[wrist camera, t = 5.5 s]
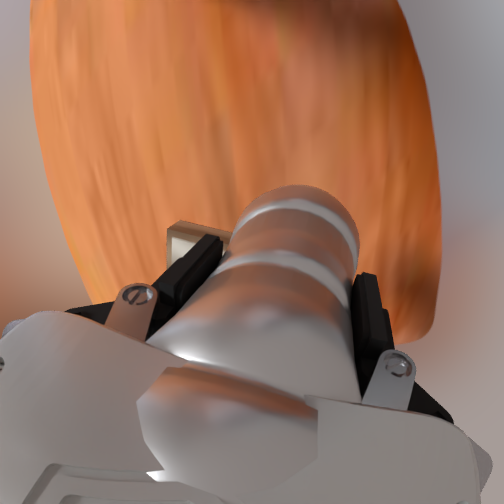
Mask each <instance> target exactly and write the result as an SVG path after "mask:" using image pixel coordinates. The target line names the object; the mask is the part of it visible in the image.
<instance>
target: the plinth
mask: <svg viewBox="0 0 504 504" xmlns="http://www.w3.org/2000/svg"><path fill="white" fill-rule="evenodd" d="M205 234H211V235H215V236H219V237H220V240H221V241H223V254H224V253H225V251H226V249H227V247H228V246H229V243H230V239H231V236H232V234H233V233H231V232H227V231H223V230H219V229H214V228H210V227H206V226H202V225H198V224H194V223H190V222H186V221H181V220H180V221H178V222H177V223H175V224H174V225H172V226H171V227H169V228H168V229H167V269H168V268H169V267H170V266H171V265H172V264H173V263H174V262H175V261H176V260H177V259H178V258H180V257H183V256H184V255H185V254H186V253H187V252H188V251H189V250H190V249H191V248H192V247H193V246H194V245H195V244H196V243H197V242H198V241H199V240H200V239H201V238H202V237H203V236H204V235H205ZM223 254H222V256H223Z"/></svg>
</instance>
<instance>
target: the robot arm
mask: <svg viewBox="0 0 504 504" xmlns="http://www.w3.org/2000/svg"><path fill="white" fill-rule="evenodd" d="M222 254H223V241H221V240H220V237H219V236H215V235H211V234H205V235H204V236H203V237H202V238H201V239H200V240H199V241H198V242H197V243H196V244H195V245H194V246H193V247H192V248H191V249H190V250H189V251H188V252H187V253H186V254H185V255H184V256H183V257H180V258H178V259H177V260H176V261H175V262H174V263H173V264H172V265H171V266H170V267H169V268H168V269H167V270H166V271H165V272H164V273H163V274H162V275H161V276H160V277H159V278H158V279H157V280H156V281H155V282H154V283H153V284H152V285H151V286H150V285H148V284H144V283H134V284H130V285H127V286H125V287H124V288H122V289H121V290H120V292H119V293H118V296H117V298H116V300H115V301H113V302H107V303H102V304H96V305H90V306H84V307H78V308H72V309H69V310H67V311H65V312H59V311H41V312H38V313H35V314H33V315H31V316H30V317H28V318H26V319H20V320H15V321H12V322H11V323H9V324H8V325H7V326H6V327H5V328H4V331H3V335H2V339H1V340H0V504H224V503H223V502H222V501H221V500H220V499H219V498H218V497H217V496H216V495H215V494H212V493H209V492H206V491H203V490H200V489H198V488H195V487H192V486H189V485H187V484H184V483H181V482H179V481H176V482H157V481H156V480H154V479H153V478H152V477H151V476H150V475H149V474H147V473H146V472H154V471H162V470H165V469H164V468H163V467H162V465H161V464H160V463H159V461H158V460H157V459H156V457H155V456H154V455H153V453H152V452H151V450H150V449H149V447H148V446H147V444H146V443H145V441H144V438H143V433H142V429H141V424H140V419H139V414H138V409H137V404H136V401H137V400H138V399H139V398H140V397H141V396H142V395H143V394H144V393H145V392H146V391H147V390H148V389H149V388H150V387H151V386H152V384H153V383H154V382H155V381H156V380H157V378H158V377H159V376H160V375H161V373H162V372H163V371H164V370H165V368H166V367H176V368H181V367H182V366H183V365H184V364H186V363H187V362H188V360H186V359H183V358H181V357H178V356H175V355H173V354H171V353H168V352H166V351H164V350H162V349H160V348H158V347H156V346H153V345H151V344H148V343H146V341H147V340H148V339H149V338H150V337H151V336H153V335H154V334H155V333H156V332H157V331H158V330H159V329H160V328H161V327H162V326H164V325H165V324H166V323H167V322H168V321H169V320H170V319H171V318H172V317H173V316H175V315H176V314H177V312H178V311H179V310H180V309H181V308H182V307H183V306H184V304H185V303H186V302H187V301H188V300H189V299H190V297H191V296H192V295H193V294H194V293H195V292H196V291H197V289H198V288H199V287H200V286H201V285H203V284H204V282H205V281H206V279H207V278H208V277H209V276H210V275H211V274H212V272H213V271H214V270H215V269H216V267H217V265H218V263H219V262H220V260H221V258H222ZM350 310H351V322H352V331H353V344H354V359H355V365H356V371H357V376H358V382H359V387H360V393H361V400H362V404H361V403H356V402H350V401H344V400H336V399H328V398H321V397H316V396H311V395H304V399H305V404H306V405H308V406H310V407H312V408H314V409H316V410H318V428H317V447H318V458H317V459H316V460H314V461H313V462H312V463H310V464H309V465H308V466H306V467H305V468H303V469H302V470H301V471H299V472H298V473H296V474H295V475H293V476H292V477H291V478H289V479H288V480H286V481H285V482H283V483H281V484H280V485H278V486H277V487H275V488H272V489H268V490H264V491H259V492H255V493H250V494H245V495H239V496H236V497H237V498H238V499H239V500H240V501H241V502H242V503H243V504H481V499H480V493H481V491H482V489H483V488H484V486H485V483H486V482H487V480H488V478H489V475H490V474H491V471H492V467H493V466H492V460H491V457H490V456H489V454H488V453H487V452H486V451H484V450H483V449H482V448H481V447H480V446H479V445H477V444H476V443H475V442H474V441H473V440H472V439H470V438H469V437H468V436H467V435H466V434H465V433H464V431H462V430H461V429H460V428H458V427H457V426H455V425H454V422H453V419H452V417H451V415H450V414H449V413H448V412H447V411H446V410H445V409H444V408H443V407H442V406H441V405H440V404H438V402H437V401H435V400H434V399H433V398H432V397H431V396H430V395H429V394H428V393H427V392H426V391H425V390H424V389H423V388H421V387H420V386H419V385H418V384H417V383H416V382H415V381H414V379H415V375H416V366H415V363H414V362H413V360H412V359H411V358H410V357H409V356H408V355H407V354H405V353H403V352H401V351H398V350H395V348H394V342H393V335H392V330H391V324H390V319H389V313H388V310H387V309H383V308H382V303H381V298H380V292H379V287H378V282H377V277H376V275H373V274H369V273H365V272H363V273H362V274H361V275H359V274H357V276H356V278H355V281H354V284H353V288H352V298H351V308H350Z"/></svg>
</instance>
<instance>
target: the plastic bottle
mask: <svg viewBox="0 0 504 504" xmlns="http://www.w3.org/2000/svg"><path fill="white" fill-rule="evenodd" d="M359 249H360V241H359V233H358V230H357V227H356V224H355V222H354V220H353V219H352V217H351V215H350V214H349V212H348V211H347V210H346V208H345V207H344V206H343V205H342V204H341V203H340V202H339V201H338V200H337V199H336V198H335V197H333V196H332V195H331V194H329V193H328V192H326V191H323V190H321V189H319V188H316V187H312V186H308V185H288V186H282V187H279V188H277V189H274V190H271V191H269V192H266V193H264V194H262V195H261V196H259V197H258V198H256V199H254V200H253V201H252V202H251V203H250V204H249V205H248V206H247V207H246V208H245V210H244V211H243V213H242V214H241V216H240V218H239V220H238V222H237V224H236V226H235V228H234V231H233V234H232V236H231V239H230V243H229V246H228V247H227V249H226V251H225V253H224V254H223V256H222V258H221V260H220V262H219V263H218V265H217V267H216V269H215V270H214V271H213V272H212V274H211V275H210V276H209V277H208V278H207V279H206V281H205V282H204V284H203V285H201V286H200V287H199V288H198V289H197V291H196V292H195V293H194V294H193V295H192V296H191V297H190V299H189V300H188V301H187V302H186V303H185V304H184V306H183V307H182V308H181V309H180V310H179V311H178V312H177V314H176V315H175V316H173V317H172V318H171V319H170V320H169V321H168V322H167V323H166V324H165V325H164V326H162V327H161V328H160V329H159V330H158V331H157V332H156V333H155V334H154V335H153V336H151V337H150V338H149V339H148V340H147V341H146V343H148V344H151V345H153V346H156V347H158V348H160V349H162V350H164V351H166V352H168V353H171V354H173V355H175V356H178V357H181V358H183V359H186V360H188V362H187V363H186V364H184V365H183V366H182V367H181V368H176V367H166V368H165V370H164V371H163V372H162V373H161V375H160V376H159V377H158V378H157V380H156V381H155V382H154V383H153V384H152V386H151V387H150V388H149V389H148V390H147V391H146V392H145V393H144V394H143V395H142V396H141V397H140V398H139V399H138V400H137V401H136V404H137V409H138V414H139V419H140V424H141V429H142V433H143V438H144V441H145V443H146V444H147V446H148V447H149V449H150V450H151V452H152V453H153V455H154V456H155V457H156V459H157V460H158V461H159V463H160V464H161V465H162V467H163V468H164V469H165V470H162V471H154V472H146V473H147V474H149V475H150V476H151V477H152V478H153V479H154V480H156V481H157V482H176V481H179V482H181V483H184V484H187V485H189V486H192V487H195V488H198V489H200V490H203V491H206V492H209V493H212V494H215V495H216V496H217V497H218V498H219V499H220V500H221V501H222V502H223V503H224V504H243V503H242V502H241V501H240V500H239V499H238V498H237V497H236V496H239V495H245V494H250V493H255V492H259V491H264V490H268V489H272V488H275V487H277V486H278V485H280V484H281V483H283V482H285V481H286V480H288V479H289V478H291V477H292V476H293V475H295V474H296V473H298V472H299V471H301V470H302V469H303V468H305V467H306V466H308V465H309V464H310V463H312V462H313V461H314V460H316V459H317V458H318V447H317V428H318V410H316V409H314V408H312V407H310V406H308V405H306V404H305V399H304V395H311V396H316V397H321V398H328V399H336V400H344V401H350V402H356V403H361V404H362V400H361V393H360V387H359V382H358V376H357V371H356V365H355V359H354V344H353V331H352V322H351V310H350V308H351V298H352V288H353V278H354V275H355V272H356V269H357V264H358V257H359Z"/></svg>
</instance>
